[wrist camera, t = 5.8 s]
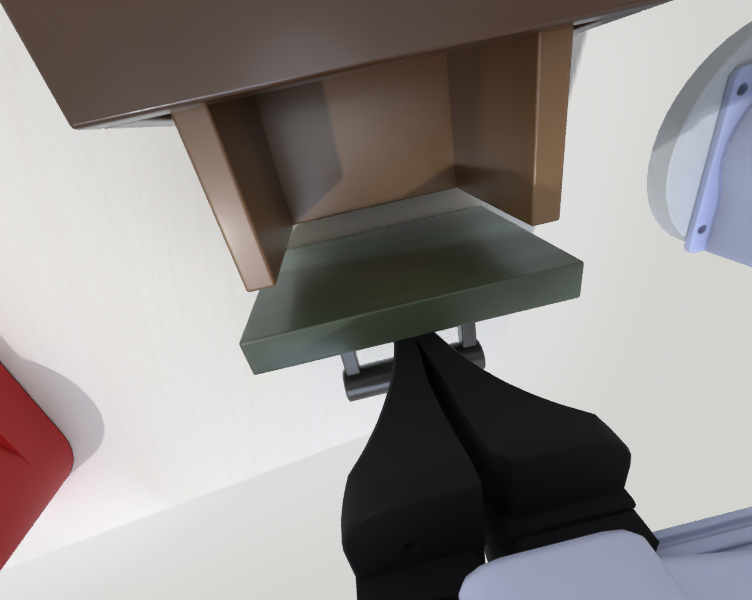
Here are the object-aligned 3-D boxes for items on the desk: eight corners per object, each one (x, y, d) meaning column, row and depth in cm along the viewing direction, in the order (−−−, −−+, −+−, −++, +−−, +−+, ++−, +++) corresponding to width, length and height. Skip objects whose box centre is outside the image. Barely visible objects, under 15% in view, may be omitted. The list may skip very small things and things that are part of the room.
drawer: (485, 310, 19) (567, 407, 12) (309, 352, 19) (301, 473, 12) (466, -156, 11) (684, -578, 4) (148, -91, 10) (-142, -437, 4)
